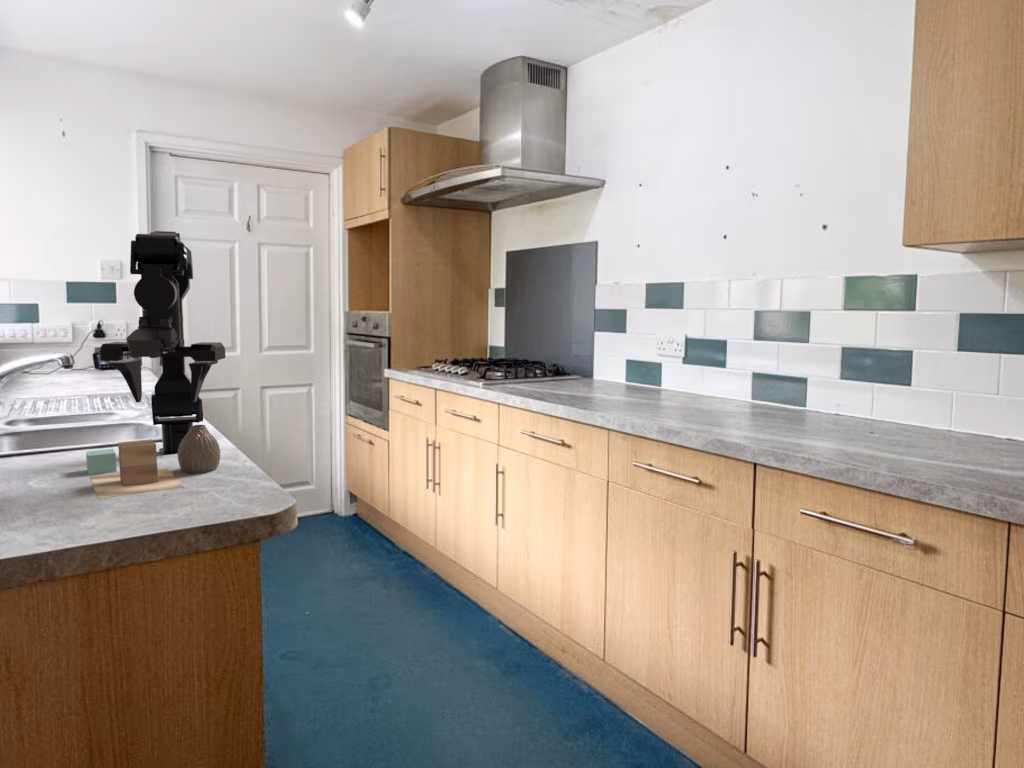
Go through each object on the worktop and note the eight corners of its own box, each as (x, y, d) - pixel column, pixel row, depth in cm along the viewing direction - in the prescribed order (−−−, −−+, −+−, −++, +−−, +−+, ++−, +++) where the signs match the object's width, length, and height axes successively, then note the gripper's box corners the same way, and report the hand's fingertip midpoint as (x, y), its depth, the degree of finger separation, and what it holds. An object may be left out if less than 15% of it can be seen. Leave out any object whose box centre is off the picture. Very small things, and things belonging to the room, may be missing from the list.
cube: (87, 474, 125) (86, 451, 124) (114, 471, 127) (113, 448, 127) (89, 479, 121) (87, 455, 121) (116, 476, 124) (115, 453, 123)
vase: (170, 476, 124) (167, 427, 123) (203, 468, 130) (201, 421, 129) (196, 480, 121) (194, 430, 120) (229, 472, 127) (227, 424, 126)
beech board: (90, 481, 120) (90, 476, 120) (168, 471, 127) (167, 467, 127) (98, 503, 107) (97, 498, 107) (184, 491, 114) (183, 486, 113)
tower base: (120, 480, 118) (119, 461, 117) (153, 476, 120) (152, 457, 120) (123, 486, 113) (122, 467, 113) (158, 482, 116) (157, 463, 116)
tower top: (119, 461, 117) (118, 442, 117) (152, 457, 120) (151, 439, 120) (122, 467, 113) (121, 447, 113) (157, 463, 116) (155, 444, 116)
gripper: (77, 311, 109) (84, 410, 112) (200, 312, 111) (205, 410, 113) (112, 309, 120) (118, 399, 123) (224, 310, 122) (228, 399, 124)
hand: (166, 402), depth 120 cm, fingers open, 9 cm apart
